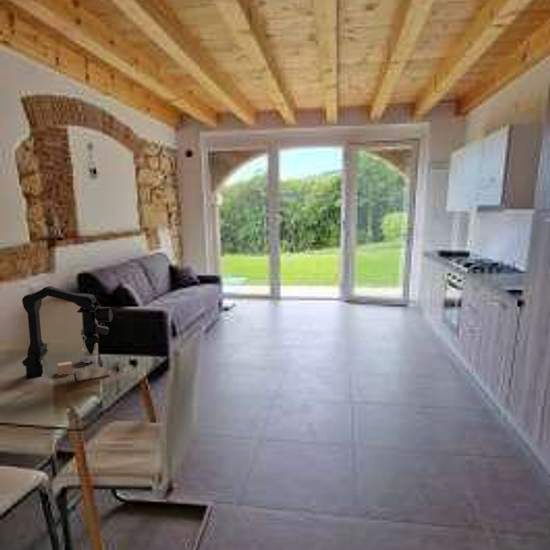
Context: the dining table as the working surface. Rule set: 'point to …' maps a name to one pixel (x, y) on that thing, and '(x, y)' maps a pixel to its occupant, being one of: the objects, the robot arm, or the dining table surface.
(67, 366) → the terracotta brick
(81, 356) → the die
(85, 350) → the birch brick
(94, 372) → the walnut board
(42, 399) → the dining table surface
